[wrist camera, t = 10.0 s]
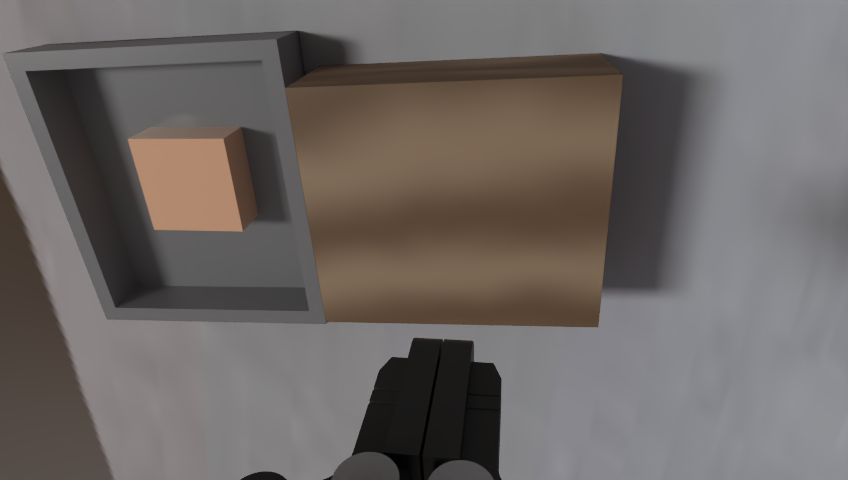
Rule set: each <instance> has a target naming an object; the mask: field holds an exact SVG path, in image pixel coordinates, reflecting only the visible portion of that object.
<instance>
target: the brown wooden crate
mask: <svg viewBox="0 0 848 480" xmlns="http://www.w3.org/2000/svg"><path fill="white" fill-rule="evenodd" d="M622 82H623V74H622V73H621V72H620V71H619V70H618V69H617V68H616V67H615V66H614V65H613V64H612V63H611V62H610V61H609V60H608V59H607V58H606V57H605V56H604V55H603V54H602V53H599V54H577V55H554V56H532V57H510V58H487V59H465V60H443V61H420V62H398V63H376V64H353V65H331V66H319V67H318V68H316V69H314V70H313V71H311V72H310V73H308V74H307V75H305V76H303V77H302V78H300V79H299V80H297V81H295V82H294V83H292V84H291V85H289V86H288V87H286V88H285V90H286V96H287V102H288V108H289V113H290V119H291V125H292V131H293V136H294V142H295V148H296V153H297V159H298V165H299V171H300V176H301V182H302V188H303V193H304V199H305V205H306V211H307V216H308V222H309V228H310V234H311V239H312V245H313V251H314V256H315V262H316V268H317V274H318V279H319V285H320V291H321V296H322V302H323V308H324V314H325V319H326V322H365V323H415V324H464V325H513V326H562V327H598V323H599V313H600V303H601V293H602V283H603V273H604V263H605V253H606V243H607V233H608V223H609V213H610V203H611V193H612V183H613V173H614V163H615V153H616V143H617V133H618V122H619V112H620V102H621V92H622Z"/></svg>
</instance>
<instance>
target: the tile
mask: <svg viewBox="0 0 848 480" xmlns="http://www.w3.org/2000/svg"><path fill="white" fill-rule="evenodd" d="M128 142H129V146H130V149H131V153H132V156H133V159H134V163H135V166H136V170H137V173H138V176H139V180H140V183H141V187H142V190H143V194H144V197H145V200H146V204H147V207H148V211H149V214H150V217H151V221H152V224H153V228H154V230H191V231H240V232H243V231H244V230H245V229H246V228H247V227H248V226H249V224H250V223H251V222H252V221H253V220H254V219H255V218H256V217H257V216H258V211H257V206H256V201H255V195H254V190H253V185H252V180H251V175H250V170H249V164H248V159H247V154H246V149H245V144H244V139H243V133H242V128H241V127H150V128H148V129H146V130H144V131H142V132H140V133H138V134H136V135H134V136H132V137H130V138H128Z"/></svg>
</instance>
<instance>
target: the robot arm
mask: <svg viewBox="0 0 848 480" xmlns="http://www.w3.org/2000/svg"><path fill="white" fill-rule="evenodd" d="M500 419H501V377H500V375H499V373H498V371H497V369H496V367H495V365H494V364H493V363H481V362H474V342H473V341H465V340H447V339H445V340H444V342H443V340H442V339H427V338H414V339H413V341H412V344H411V348H410V352H409V356H408V358H398V357H391V359H390V360H389V361H388V362H387V363H386V364H385V365H384V366H383V367H382V368H381V369H380V370H379V373H378V376H377V379H376V382H375V385H374V390H373V392H372V395H371V398H370V403H369V404H368V407H367V410H366V414H365V417H364V420H363V423H362V426H361V429H360V432H359V435H358V439H357V442H356V445H355V448H354V451H353V454H352V456H351V457H349V458H347V459H346V460H345V461H343V462H342V463H341V464H340V465H339V466H338V468H337V469H336V471H335V472H334V474H333V475H332V476H331V477H329V478H326V479H324V480H501V478H500V475H499V447H500ZM241 480H286V479H285V478H284V477H283V476H281V475H280V474H277V473H274V472H257V473H254V474H251V475H248V476H246V477H244V478H242V479H241Z"/></svg>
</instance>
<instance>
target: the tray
mask: <svg viewBox="0 0 848 480" xmlns="http://www.w3.org/2000/svg"><path fill="white" fill-rule="evenodd" d="M2 54H3V57H4V59H5V62H6V65H7V67H8V70H9V72H10V75H11V77H12V80H13V82H14V85H15V87H16V90H17V92H18V95H19V98H20V100H21V103H22V105H23V108H24V110H25V113H26V115H27V118H28V120H29V123H30V125H31V128H32V131H33V133H34V136H35V138H36V141H37V143H38V146H39V148H40V151H41V153H42V156H43V158H44V161H45V164H46V166H47V169H48V171H49V174H50V176H51V179H52V181H53V184H54V186H55V189H56V191H57V194H58V196H59V199H60V202H61V204H62V207H63V209H64V212H65V214H66V217H67V219H68V222H69V224H70V227H71V229H72V232H73V235H74V237H75V240H76V242H77V245H78V247H79V250H80V252H81V255H82V257H83V260H84V262H85V265H86V268H87V270H88V273H89V275H90V278H91V280H92V283H93V285H94V288H95V290H96V293H97V295H98V298H99V301H100V303H101V306H102V308H103V311H104V313H105V316H106V318H107V319H114V320H162V321H210V322H258V323H305V324H326V323H327V322H326V319H325V314H324V308H323V302H322V296H321V291H320V285H319V279H318V274H317V268H316V262H315V256H314V251H313V245H312V239H311V234H310V228H309V222H308V216H307V211H306V205H305V199H304V193H303V188H302V182H301V176H300V171H299V165H298V159H297V153H296V148H295V142H294V136H293V131H292V125H291V119H290V113H289V108H288V102H287V96H286V90H285V88H286V87H288V86H289V85H291V84H292V83H294V82H295V81H297V80H299V79H300V78H302V77H303V76H305V72H304V66H303V59H302V53H301V47H300V40H299V34H298V31H284V32H266V33H247V34H229V35H210V36H192V37H173V38H155V39H136V40H118V41H99V42H81V43H62V44H47V45H42V46H37V47H32V48H27V49H22V50H17V51H12V52H7V53H2ZM150 127H241V128H242V133H243V139H244V144H245V149H246V154H247V159H248V164H249V170H250V175H251V180H252V185H253V190H254V195H255V201H256V206H257V211H258V216H257V217H256V218H255V219H254V220H253V221H252V222H251V223H250V224H249V226H248V227H247V228H246V229H245V230H244V231H243V232H240V231H191V230H154V228H153V224H152V221H151V217H150V214H149V211H148V207H147V204H146V200H145V197H144V194H143V190H142V187H141V183H140V180H139V176H138V173H137V170H136V166H135V163H134V159H133V156H132V153H131V149H130V146H129V142H128V138H130V137H132V136H134V135H136V134H138V133H140V132H142V131H144V130H146V129H148V128H150Z"/></svg>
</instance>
